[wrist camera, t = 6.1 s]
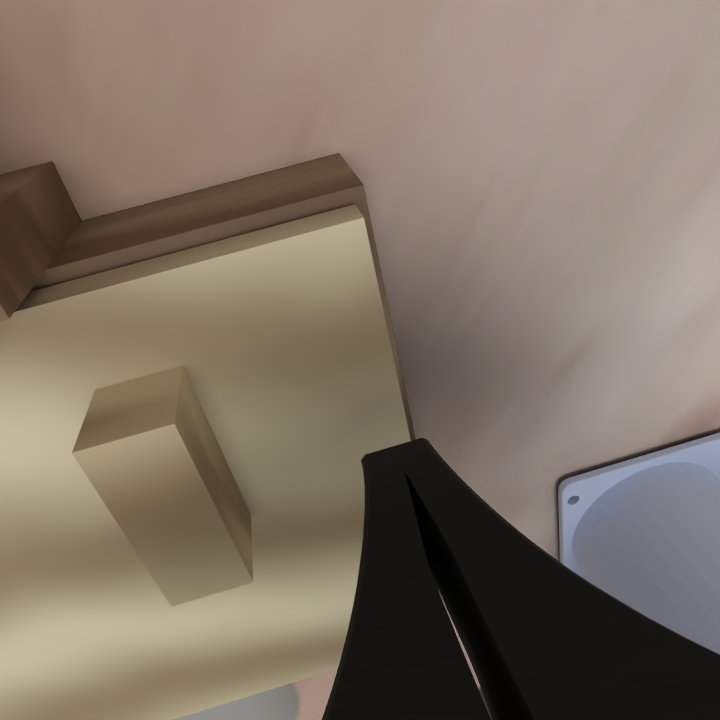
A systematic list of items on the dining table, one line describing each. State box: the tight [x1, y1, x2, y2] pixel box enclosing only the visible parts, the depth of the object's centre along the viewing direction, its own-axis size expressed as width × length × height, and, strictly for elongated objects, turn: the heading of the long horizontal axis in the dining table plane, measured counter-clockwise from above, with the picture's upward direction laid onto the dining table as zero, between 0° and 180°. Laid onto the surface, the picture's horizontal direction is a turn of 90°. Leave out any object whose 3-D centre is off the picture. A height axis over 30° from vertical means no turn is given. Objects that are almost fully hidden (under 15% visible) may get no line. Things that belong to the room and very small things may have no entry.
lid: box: [0, 204, 446, 720], centre depth 15 cm, size 15×17×3 cm
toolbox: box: [0, 153, 415, 441], centre depth 17 cm, size 18×18×6 cm
